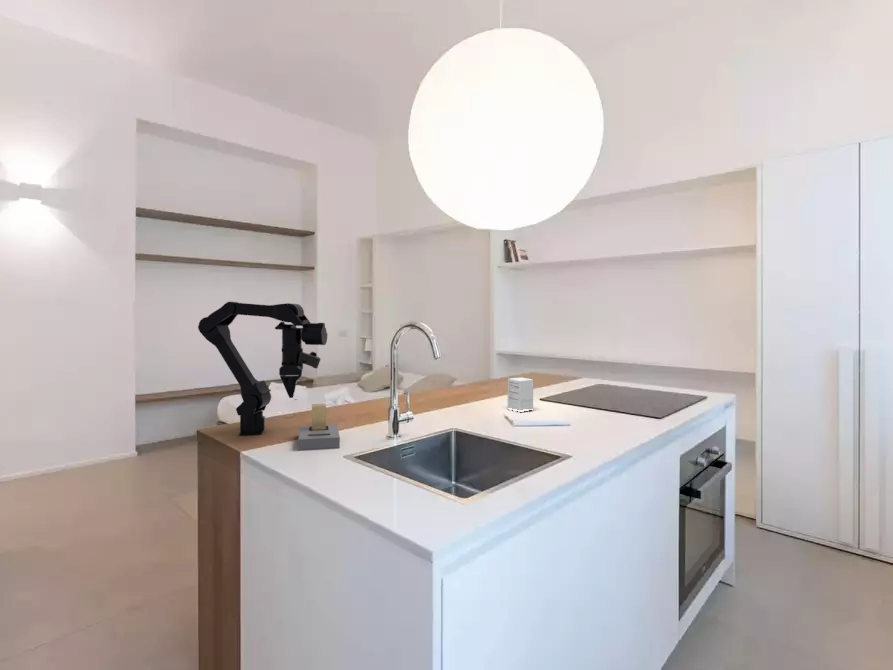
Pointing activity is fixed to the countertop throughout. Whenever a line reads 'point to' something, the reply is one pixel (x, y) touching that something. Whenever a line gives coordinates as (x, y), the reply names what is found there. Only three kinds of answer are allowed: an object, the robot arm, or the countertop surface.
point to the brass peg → (318, 417)
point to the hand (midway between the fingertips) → (291, 395)
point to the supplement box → (520, 393)
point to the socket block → (318, 438)
